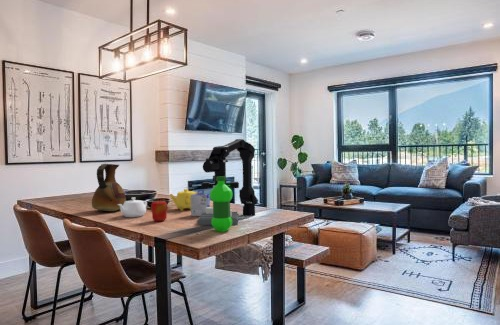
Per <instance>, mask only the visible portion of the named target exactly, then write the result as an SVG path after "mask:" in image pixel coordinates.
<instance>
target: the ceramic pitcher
mask: <svg viewBox="0 0 500 325" xmlns="http://www.w3.org/2000/svg"><path fill="white" fill-rule="evenodd" d="M119 166H120V164H116V163H114V164H113V163H102V164H100V165H99V166H98V168H97V170H96V178H97V183H98V186H97V188H96V189H95V191H94V194H93V196H92V199H91V207H92V208H93V209H94V210H98V211H104V212H116V211H118V210H120V206H119V205H117V204H122V206H123V204H124V202H125V201H127V197H126V193H125V191H124V188H122V186H121V184H119V183H118V182H117V180H116V170H117V169H118V168H119ZM104 174H105V176H104Z"/></svg>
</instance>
